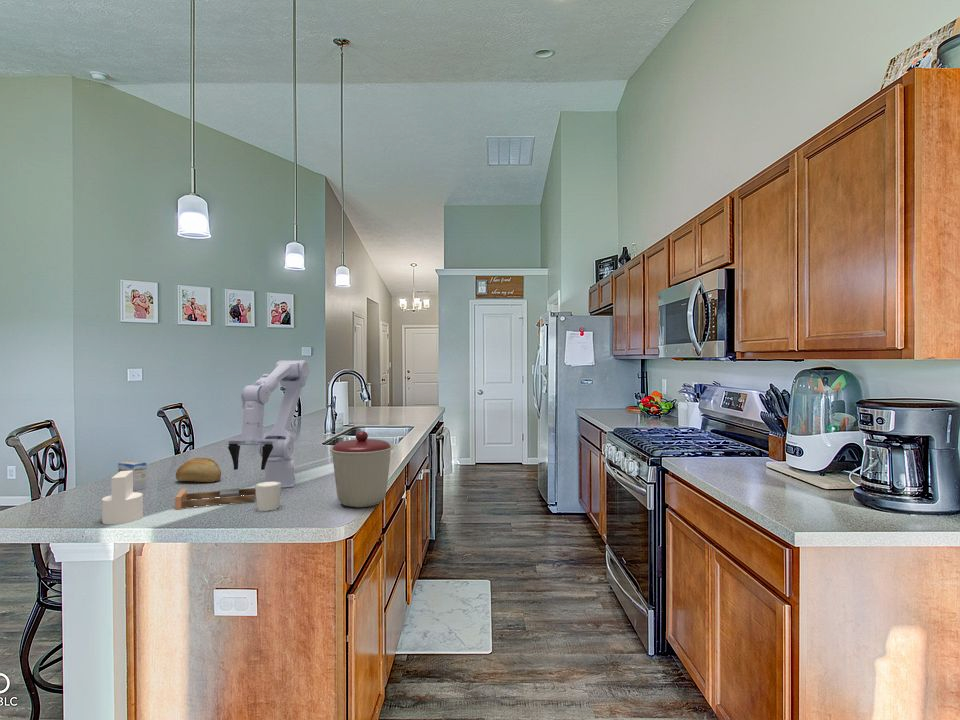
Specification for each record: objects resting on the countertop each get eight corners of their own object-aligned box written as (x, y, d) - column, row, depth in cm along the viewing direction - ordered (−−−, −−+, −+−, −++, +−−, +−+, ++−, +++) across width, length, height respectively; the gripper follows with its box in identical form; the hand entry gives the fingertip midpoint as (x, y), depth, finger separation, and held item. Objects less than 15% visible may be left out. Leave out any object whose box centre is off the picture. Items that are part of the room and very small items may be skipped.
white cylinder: (256, 513, 148) (256, 487, 148) (254, 506, 154) (253, 482, 154) (282, 509, 151) (282, 484, 151) (279, 503, 158) (279, 479, 157)
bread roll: (184, 478, 191) (184, 456, 191) (227, 478, 191) (227, 455, 191) (169, 485, 181) (169, 461, 181) (214, 484, 181) (214, 461, 181)
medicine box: (117, 489, 175) (117, 462, 175) (130, 486, 179) (130, 460, 179) (133, 491, 172) (133, 464, 172) (147, 488, 176) (146, 462, 176)
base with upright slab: (107, 516, 146) (107, 472, 146) (146, 512, 149) (146, 469, 149) (97, 526, 137) (97, 479, 137) (138, 522, 141) (138, 476, 140)
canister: (380, 513, 147) (379, 436, 147) (318, 510, 151) (318, 435, 151) (401, 496, 165) (401, 427, 165) (346, 493, 168) (345, 426, 168)
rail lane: (255, 493, 169) (255, 482, 169) (254, 502, 159) (254, 490, 159) (181, 500, 161) (181, 488, 161) (175, 509, 152) (175, 497, 152)
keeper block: (239, 498, 165) (239, 488, 165) (238, 503, 159) (238, 492, 159) (221, 499, 163) (221, 489, 163) (219, 504, 158) (219, 494, 157)
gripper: (224, 423, 160) (220, 470, 158) (275, 424, 163) (272, 470, 161) (229, 424, 166) (226, 468, 164) (279, 425, 169) (276, 469, 167)
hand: (249, 469), depth 163 cm, fingers open, 7 cm apart
